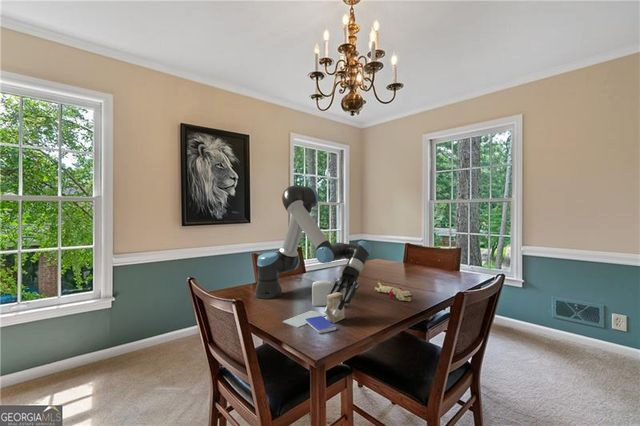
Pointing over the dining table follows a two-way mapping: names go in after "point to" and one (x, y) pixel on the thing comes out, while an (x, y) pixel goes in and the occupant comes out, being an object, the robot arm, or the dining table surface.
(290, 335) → the dining table surface
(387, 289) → the cat figure
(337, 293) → the birch block
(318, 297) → the photo printer
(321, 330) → the hard drive
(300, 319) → the mat
